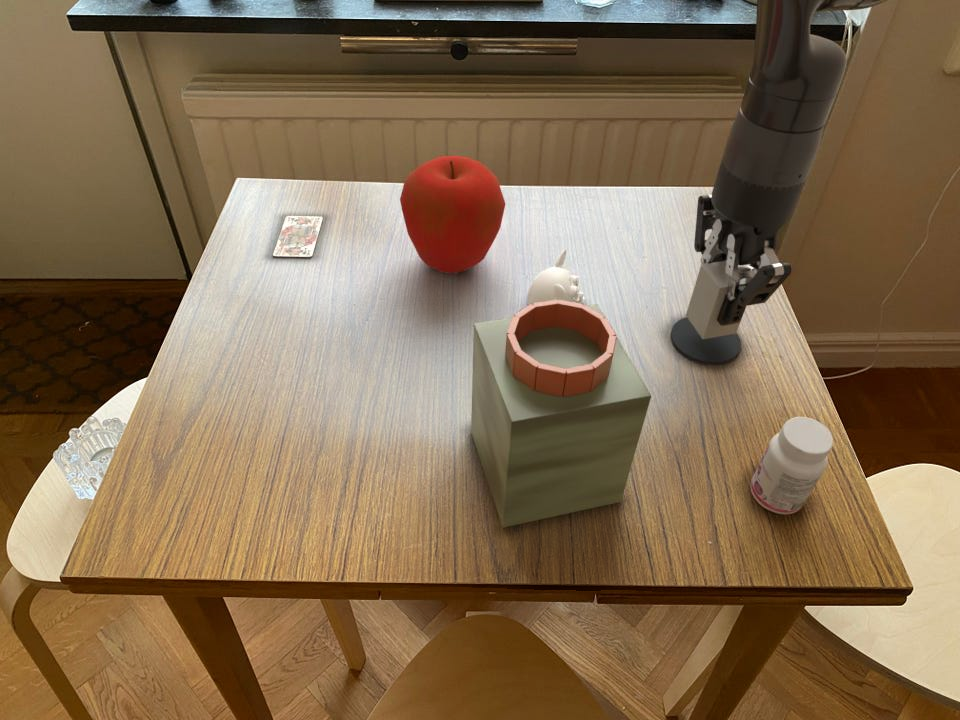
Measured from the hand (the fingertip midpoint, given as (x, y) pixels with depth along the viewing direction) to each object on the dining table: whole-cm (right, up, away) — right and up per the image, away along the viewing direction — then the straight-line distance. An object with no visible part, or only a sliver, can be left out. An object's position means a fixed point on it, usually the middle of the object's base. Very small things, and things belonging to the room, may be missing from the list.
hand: (716, 307), depth 75 cm
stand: (-19, -15, -10) cm, 26 cm away
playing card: (-48, +10, +15) cm, 52 cm away
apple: (-28, +6, +12) cm, 32 cm away
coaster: (0, -3, +3) cm, 5 cm away
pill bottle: (+2, -18, -11) cm, 21 cm away
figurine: (-17, -1, +6) cm, 18 cm away
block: (0, -2, +2) cm, 2 cm away
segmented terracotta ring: (-19, -5, -19) cm, 28 cm away
